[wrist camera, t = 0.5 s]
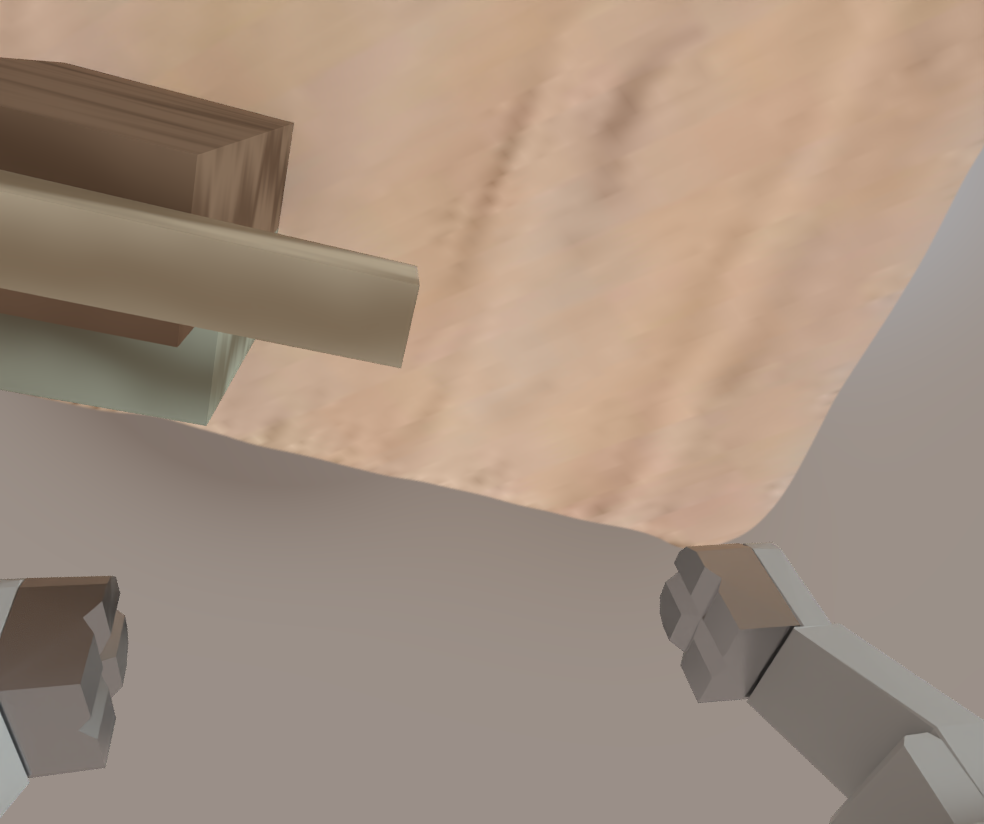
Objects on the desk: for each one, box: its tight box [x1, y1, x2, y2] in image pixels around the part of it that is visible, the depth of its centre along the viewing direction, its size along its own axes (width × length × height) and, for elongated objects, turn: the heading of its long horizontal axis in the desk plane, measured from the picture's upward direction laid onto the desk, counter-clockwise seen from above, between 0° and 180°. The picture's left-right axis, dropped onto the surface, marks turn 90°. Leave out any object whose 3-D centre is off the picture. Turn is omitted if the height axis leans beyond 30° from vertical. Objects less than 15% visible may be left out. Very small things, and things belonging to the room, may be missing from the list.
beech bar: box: [0, 170, 420, 368], centre depth 25 cm, size 3×18×3 cm, turn 75°
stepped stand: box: [0, 58, 294, 426], centre depth 38 cm, size 14×14×26 cm
